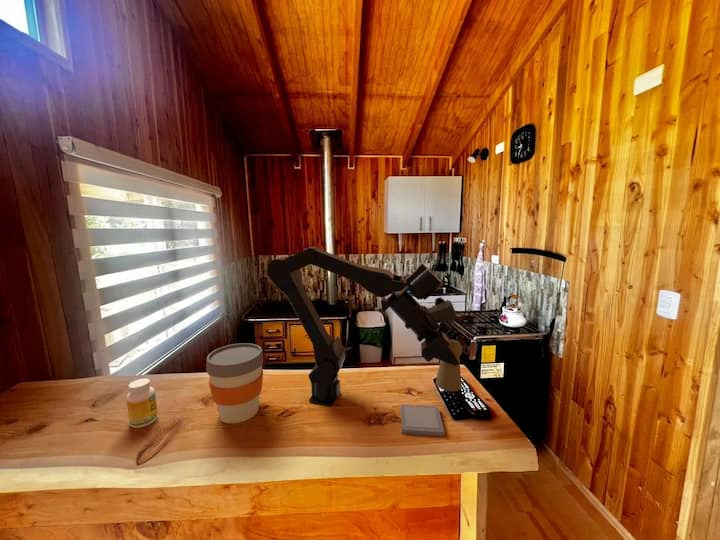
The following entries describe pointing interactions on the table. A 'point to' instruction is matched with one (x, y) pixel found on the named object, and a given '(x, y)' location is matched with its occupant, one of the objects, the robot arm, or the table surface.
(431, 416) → the coaster
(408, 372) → the table surface
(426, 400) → the table surface
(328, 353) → the robot arm
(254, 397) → the reusable coffee cup
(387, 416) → the table surface
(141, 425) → the supplement bottle
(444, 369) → the cork
